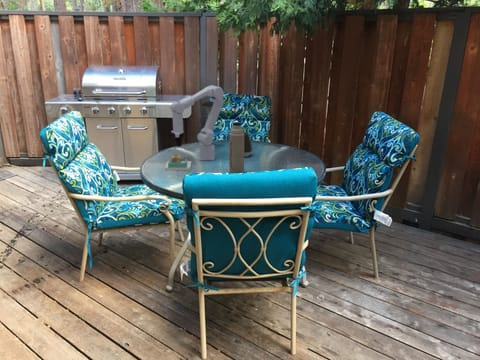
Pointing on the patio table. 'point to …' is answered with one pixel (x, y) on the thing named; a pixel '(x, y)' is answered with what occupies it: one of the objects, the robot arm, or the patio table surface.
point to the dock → (178, 165)
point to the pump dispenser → (247, 145)
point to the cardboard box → (176, 159)
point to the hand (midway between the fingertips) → (179, 146)
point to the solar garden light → (208, 107)
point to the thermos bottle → (236, 148)
